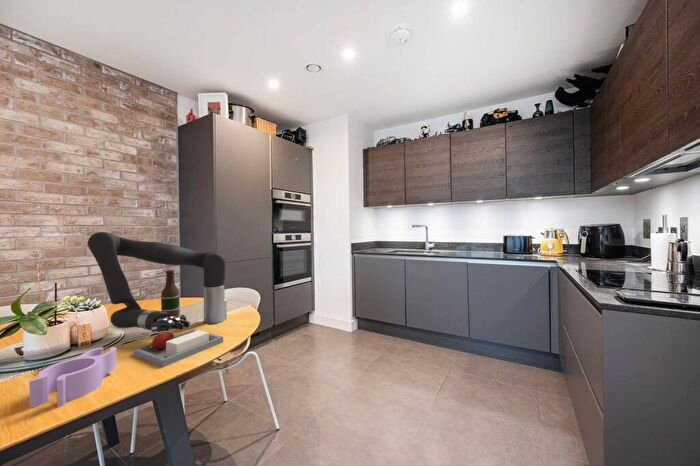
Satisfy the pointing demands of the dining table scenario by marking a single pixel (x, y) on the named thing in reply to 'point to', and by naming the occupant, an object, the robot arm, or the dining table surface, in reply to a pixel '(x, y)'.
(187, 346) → the white box
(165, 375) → the dining table surface
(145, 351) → the tray
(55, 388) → the clip
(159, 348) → the onion
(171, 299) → the beer bottle
